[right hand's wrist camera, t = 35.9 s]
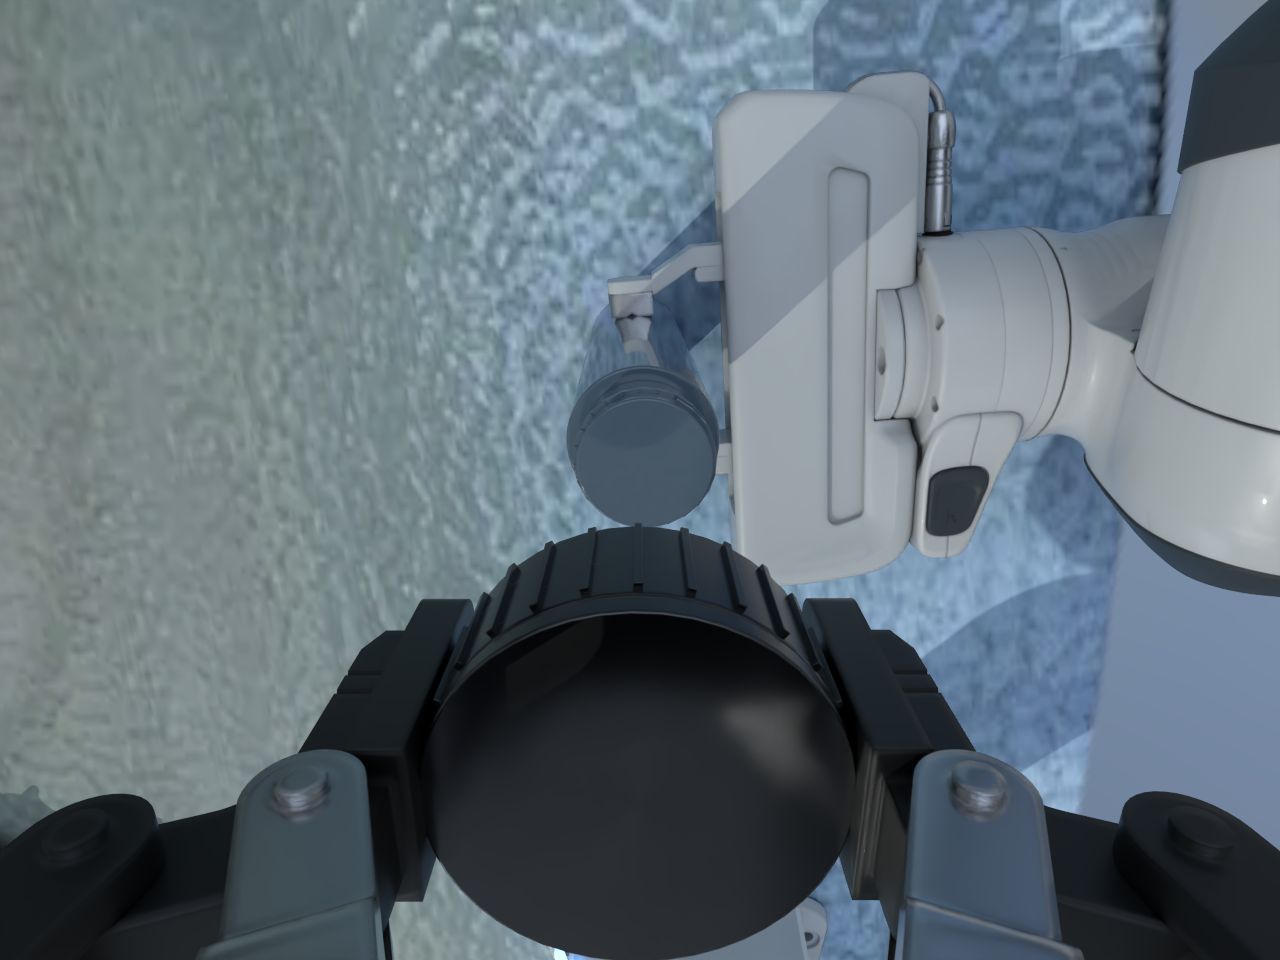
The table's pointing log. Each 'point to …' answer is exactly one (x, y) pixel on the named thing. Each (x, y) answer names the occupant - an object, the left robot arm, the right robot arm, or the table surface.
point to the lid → (637, 749)
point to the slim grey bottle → (642, 422)
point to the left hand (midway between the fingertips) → (615, 369)
